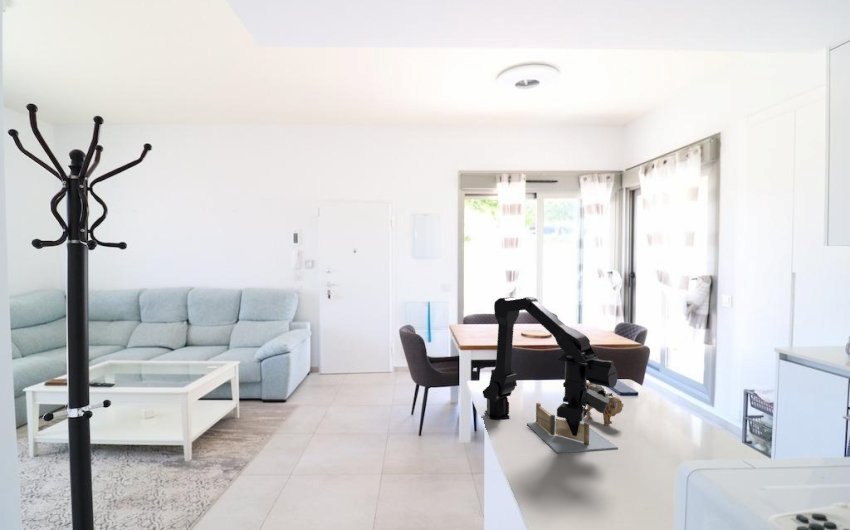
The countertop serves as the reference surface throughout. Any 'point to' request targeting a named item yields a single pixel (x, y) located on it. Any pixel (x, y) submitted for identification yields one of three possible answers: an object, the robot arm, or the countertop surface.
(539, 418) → the fixed plank
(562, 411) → the robot arm
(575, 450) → the card
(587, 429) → the hinged plank
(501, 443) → the countertop surface
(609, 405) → the lion figurine
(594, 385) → the figurine
